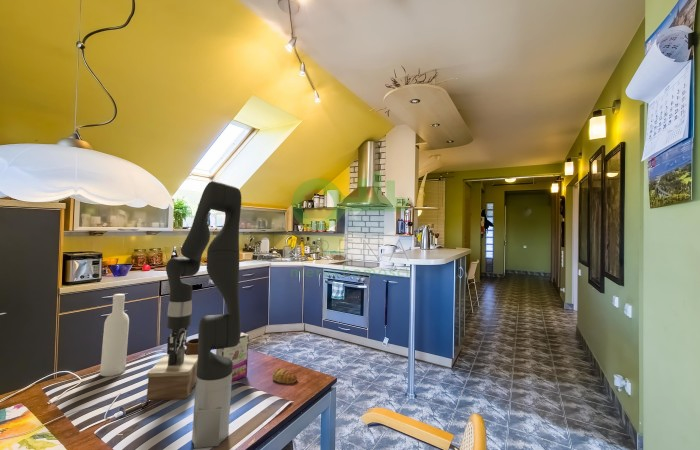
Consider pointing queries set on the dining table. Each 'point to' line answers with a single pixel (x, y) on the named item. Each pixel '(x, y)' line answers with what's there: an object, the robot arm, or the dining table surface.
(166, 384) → the box
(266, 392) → the dining table surface
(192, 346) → the mug
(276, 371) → the pastry
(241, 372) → the candy bar box
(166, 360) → the lid
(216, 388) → the robot arm
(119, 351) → the bottle
